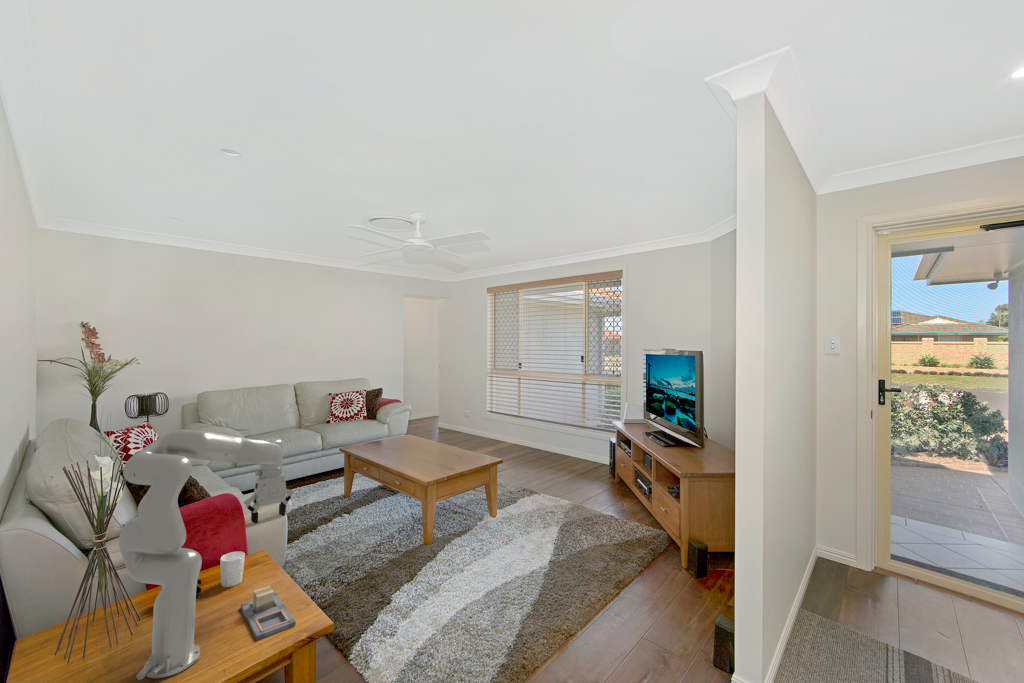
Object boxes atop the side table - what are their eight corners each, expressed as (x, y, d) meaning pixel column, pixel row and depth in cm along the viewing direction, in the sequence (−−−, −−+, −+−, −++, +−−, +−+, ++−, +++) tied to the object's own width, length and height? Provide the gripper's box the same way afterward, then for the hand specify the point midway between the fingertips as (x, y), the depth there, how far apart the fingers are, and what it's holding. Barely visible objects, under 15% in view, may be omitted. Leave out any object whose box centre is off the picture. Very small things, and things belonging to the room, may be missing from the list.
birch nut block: (273, 609, 148) (273, 591, 148) (256, 615, 144) (257, 597, 144) (269, 603, 151) (269, 585, 152) (252, 608, 148) (253, 590, 148)
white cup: (248, 578, 168) (249, 552, 168) (233, 589, 160) (234, 561, 161) (229, 576, 169) (230, 550, 169) (214, 587, 161) (215, 560, 161)
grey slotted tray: (295, 626, 140) (295, 620, 140) (257, 641, 132) (257, 635, 132) (275, 597, 156) (276, 592, 156) (240, 608, 148) (240, 603, 148)
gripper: (250, 479, 152) (248, 528, 151) (298, 469, 166) (296, 514, 165) (240, 475, 156) (238, 523, 156) (288, 466, 170) (286, 510, 170)
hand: (268, 518), depth 161 cm, fingers open, 9 cm apart
